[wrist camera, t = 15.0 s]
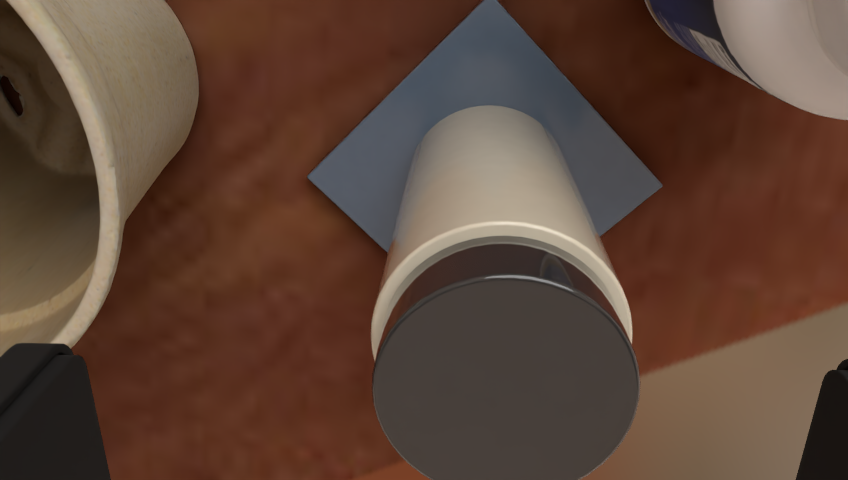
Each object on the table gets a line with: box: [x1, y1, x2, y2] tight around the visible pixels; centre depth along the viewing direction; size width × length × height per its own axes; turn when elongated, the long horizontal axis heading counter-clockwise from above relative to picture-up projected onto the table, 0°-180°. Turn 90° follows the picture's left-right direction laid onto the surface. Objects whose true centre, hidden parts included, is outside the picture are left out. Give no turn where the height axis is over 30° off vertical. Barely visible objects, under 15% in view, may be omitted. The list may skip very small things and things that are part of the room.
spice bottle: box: [371, 105, 640, 480], centre depth 15 cm, size 4×4×10 cm
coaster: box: [307, 0, 663, 253], centre depth 20 cm, size 7×7×1 cm
